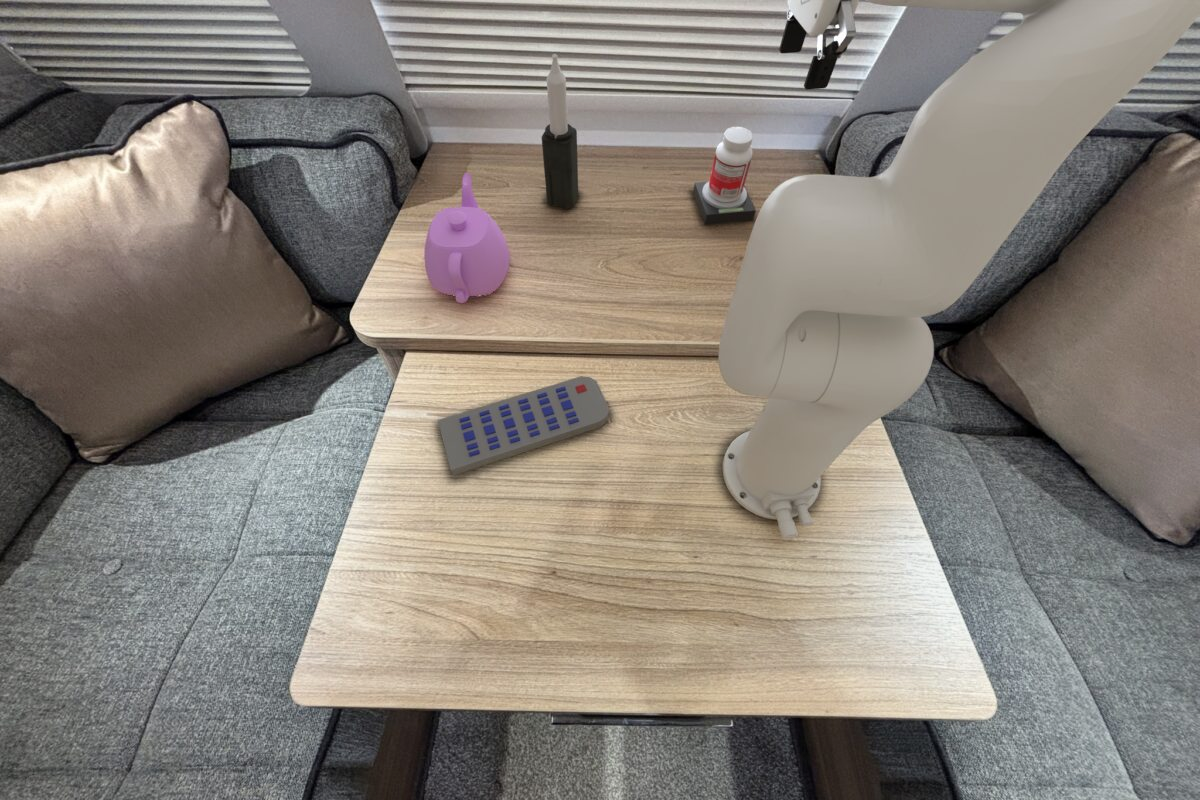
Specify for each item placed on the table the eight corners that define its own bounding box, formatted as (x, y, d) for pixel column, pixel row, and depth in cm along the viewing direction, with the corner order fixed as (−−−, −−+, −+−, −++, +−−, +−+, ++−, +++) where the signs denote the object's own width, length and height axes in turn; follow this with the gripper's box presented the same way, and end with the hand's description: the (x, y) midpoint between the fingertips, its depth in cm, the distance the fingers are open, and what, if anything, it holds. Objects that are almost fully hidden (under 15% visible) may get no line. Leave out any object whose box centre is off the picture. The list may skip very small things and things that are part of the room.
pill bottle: (723, 177, 98) (737, 119, 89) (748, 194, 96) (765, 136, 86) (700, 190, 96) (711, 132, 87) (724, 208, 94) (739, 150, 84)
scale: (752, 220, 96) (756, 207, 94) (704, 224, 96) (707, 212, 93) (738, 188, 101) (742, 175, 99) (692, 192, 100) (695, 179, 98)
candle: (545, 204, 98) (532, 59, 77) (554, 187, 101) (544, 43, 79) (571, 210, 97) (565, 65, 76) (580, 193, 100) (576, 48, 79)
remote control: (441, 426, 74) (437, 418, 72) (593, 379, 78) (593, 370, 76) (453, 476, 70) (449, 469, 68) (613, 423, 74) (613, 415, 72)
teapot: (507, 315, 84) (496, 259, 74) (423, 315, 84) (400, 259, 74) (516, 228, 95) (507, 169, 84) (441, 228, 94) (423, 169, 84)
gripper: (793, -116, 64) (756, 41, 79) (852, -60, 55) (798, 105, 70) (852, -118, 65) (804, 37, 79) (920, -64, 56) (852, 100, 70)
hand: (801, 69), depth 74 cm, fingers open, 9 cm apart
